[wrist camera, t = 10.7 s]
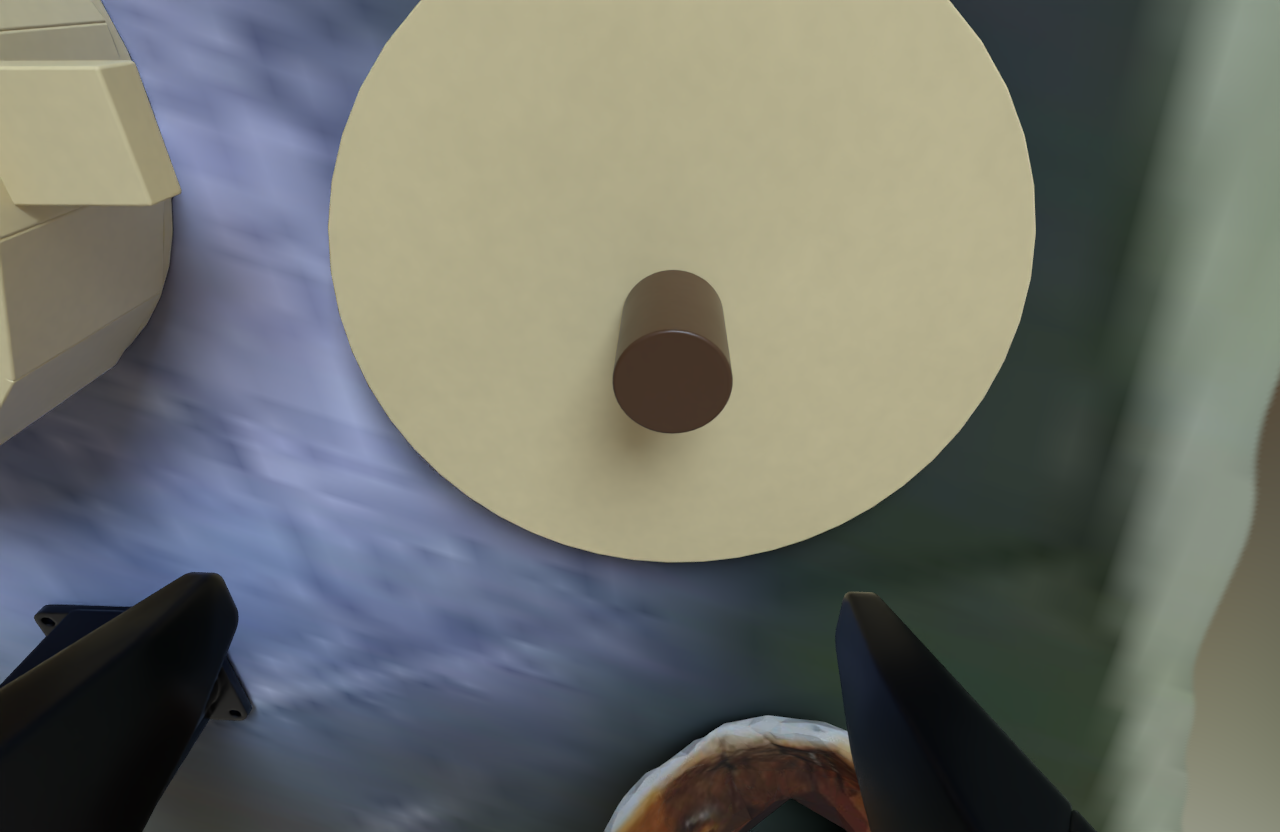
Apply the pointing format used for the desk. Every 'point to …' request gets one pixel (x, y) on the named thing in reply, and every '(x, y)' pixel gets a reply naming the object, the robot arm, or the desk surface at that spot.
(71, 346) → the cooker
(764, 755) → the clay pot
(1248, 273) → the desk surface
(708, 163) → the cooker lid
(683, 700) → the desk surface
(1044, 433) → the desk surface
